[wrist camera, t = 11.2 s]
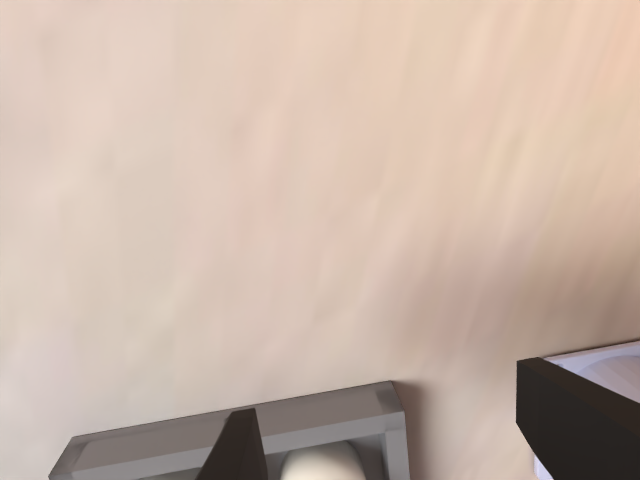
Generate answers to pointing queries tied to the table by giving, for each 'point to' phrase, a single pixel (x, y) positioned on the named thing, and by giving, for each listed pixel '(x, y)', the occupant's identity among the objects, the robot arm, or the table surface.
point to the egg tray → (275, 428)
